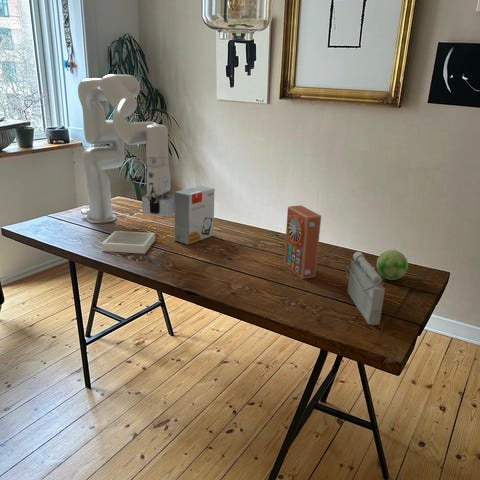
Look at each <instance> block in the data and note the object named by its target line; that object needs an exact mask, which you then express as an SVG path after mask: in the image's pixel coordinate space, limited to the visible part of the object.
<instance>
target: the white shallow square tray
mask: <svg viewBox="0 0 480 480" xmlns="http://www.w3.org/2000/svg"><path fill="white" fill-rule="evenodd" d="M155 234H156V233H155V232H142V231H141V232H140V231H139V232H138V231H123V230H122V231H120V230H114V231H113V232H112V233H111V234H110V235H109V236H107V237H106V239H105V240H103V242H101V250H102V252H113V253H126V254H127V253H129V254H132V253H133V254H143V255H144V254H146V253H147V252H148V250H149V249H150V248H151V246H152V245H153V243H154V242H155V241H156V235H155Z"/></svg>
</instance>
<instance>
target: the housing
mask: <svg viewBox="0 0 480 480" xmlns="http://www.w3.org/2000/svg"><path fill="white" fill-rule="evenodd" d="M153 194H155V192H154V193H153ZM153 197H154V198H155V196H153ZM141 200H142V201H141V202H142V203H141V204H142V205H141V206H142V207H141V208H142V214H146V215H152V216H153V215H154V216H161V217H166V218H168V217H170V216H172V215H173V214H175V196H174V195H173V194H168V195H166V194H162V195H160V196H159V195H158V201H157V203H159V213H158V214H154V213H150V203H149V200H148V198H147V196H146V194H145V195H144V196H142V197H141Z"/></svg>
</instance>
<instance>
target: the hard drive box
mask: <svg viewBox="0 0 480 480" xmlns="http://www.w3.org/2000/svg"><path fill="white" fill-rule="evenodd" d="M173 196H175V213H174V241H175V242H179V243H181V244H184V245H187V246H188V245H192V244H194V243H197V242H199V241H203V240H205V239H207V238H208V239H209V238H210V237H213V236H214V230H215V228H214V227H215V225H214V224H215V188H213V187H209V186H204V185H200V186H195V187H189V188H186V189H182V190H177V191H174V195H173Z"/></svg>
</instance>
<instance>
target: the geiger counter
mask: <svg viewBox="0 0 480 480" xmlns="http://www.w3.org/2000/svg"><path fill="white" fill-rule="evenodd" d="M352 259H353V260H350V261H351V262H350V267H349V266H348V265H347V266H345V274H346V277H347V281H348V285H347V291H346V293H347V294H348V295H349V297H350V299H351V300H352V301H353V304H355V306H356V308H357V310H358V311H359V312H360V314H361V315H362V317H363V318H364V319H365V321H366V323H367V324H368V326H369V325H370V326H379V325H380V324H381V317H382V316H381V315H382V311H383V304H384V298H385V291H386V289H385V287H384V286H383V285H382V283H383V278H382V276H381V275H380V273H379V272H378V271H377V270H376V268H375V267H374V266H372V265H371V264H370V263H369V262H368V260H367V259H366V256H365V255H364V254H363V253H362V251H355V252H354V253H353V255H352ZM348 271H349V273H348Z"/></svg>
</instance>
